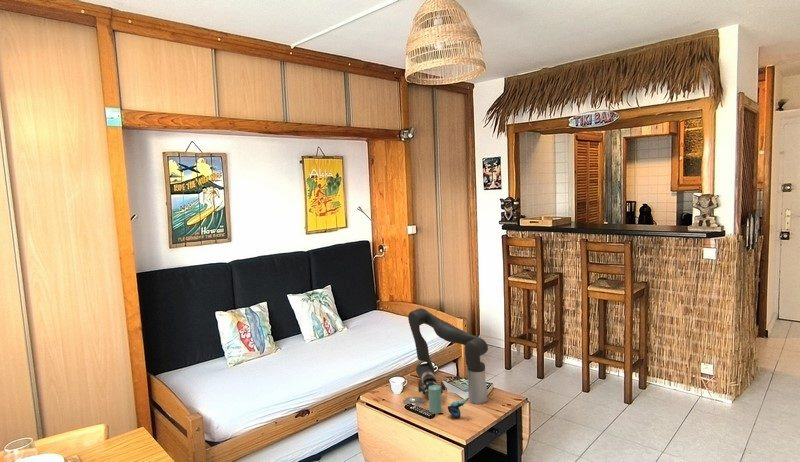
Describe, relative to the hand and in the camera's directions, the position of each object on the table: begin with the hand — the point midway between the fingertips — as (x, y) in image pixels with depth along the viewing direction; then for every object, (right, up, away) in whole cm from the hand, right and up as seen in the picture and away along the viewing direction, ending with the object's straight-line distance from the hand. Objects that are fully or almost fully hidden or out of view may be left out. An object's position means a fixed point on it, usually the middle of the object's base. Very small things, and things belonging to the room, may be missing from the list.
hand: (433, 392), depth 254 cm
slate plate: (-10, -7, +7) cm, 14 cm away
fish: (+11, -8, -13) cm, 19 cm away
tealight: (-10, -7, +7) cm, 14 cm away
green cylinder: (+1, -8, -5) cm, 10 cm away
